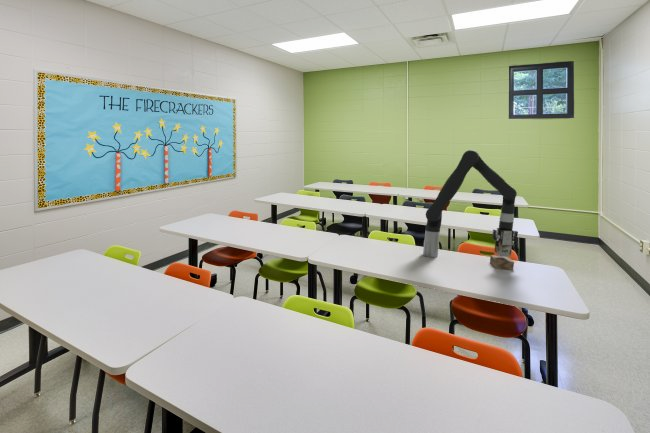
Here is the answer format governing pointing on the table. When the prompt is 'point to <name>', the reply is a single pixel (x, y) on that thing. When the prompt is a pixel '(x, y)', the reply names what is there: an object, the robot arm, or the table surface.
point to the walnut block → (501, 262)
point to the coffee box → (504, 243)
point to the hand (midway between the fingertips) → (503, 246)
